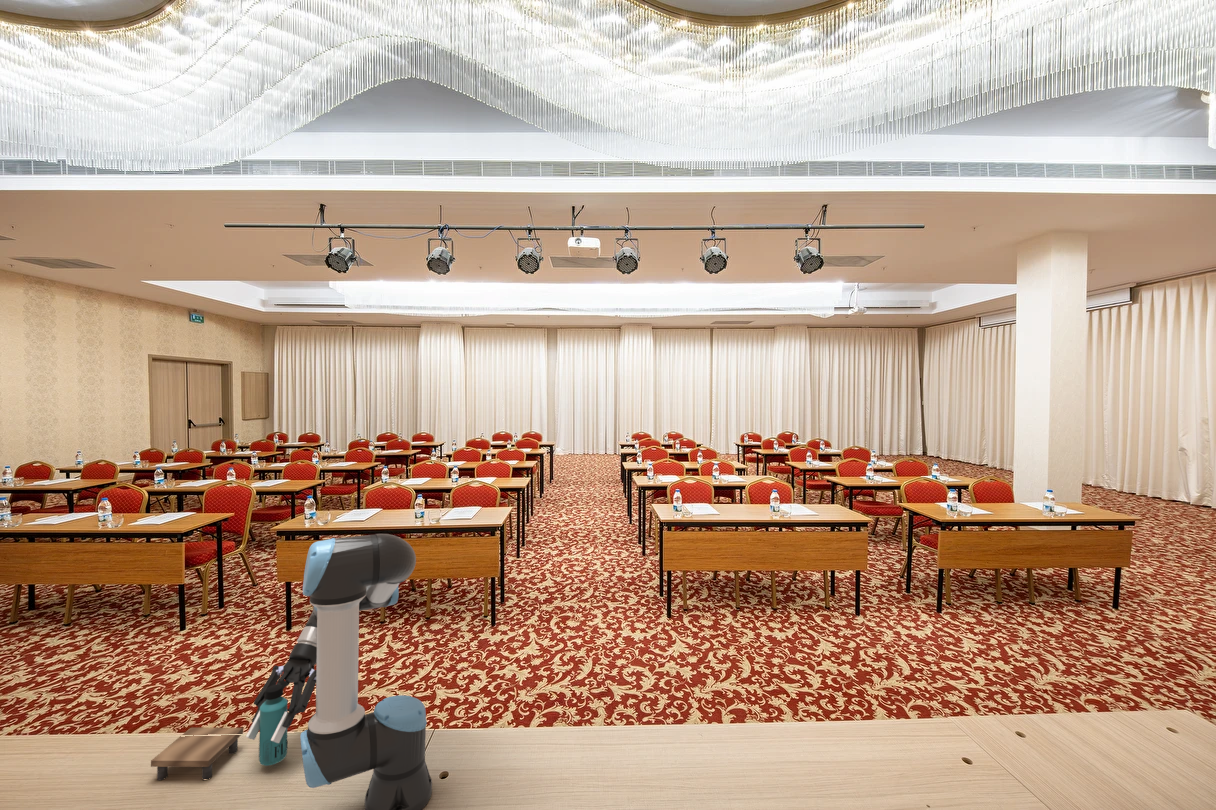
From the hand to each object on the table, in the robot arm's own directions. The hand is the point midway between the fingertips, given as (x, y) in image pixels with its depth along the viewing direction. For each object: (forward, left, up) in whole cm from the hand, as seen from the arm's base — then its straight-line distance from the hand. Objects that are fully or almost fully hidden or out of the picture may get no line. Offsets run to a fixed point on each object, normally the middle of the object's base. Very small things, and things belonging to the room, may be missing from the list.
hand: (262, 739), depth 133 cm
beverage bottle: (+1, -3, -9) cm, 9 cm away
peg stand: (+18, +5, -9) cm, 21 cm away
